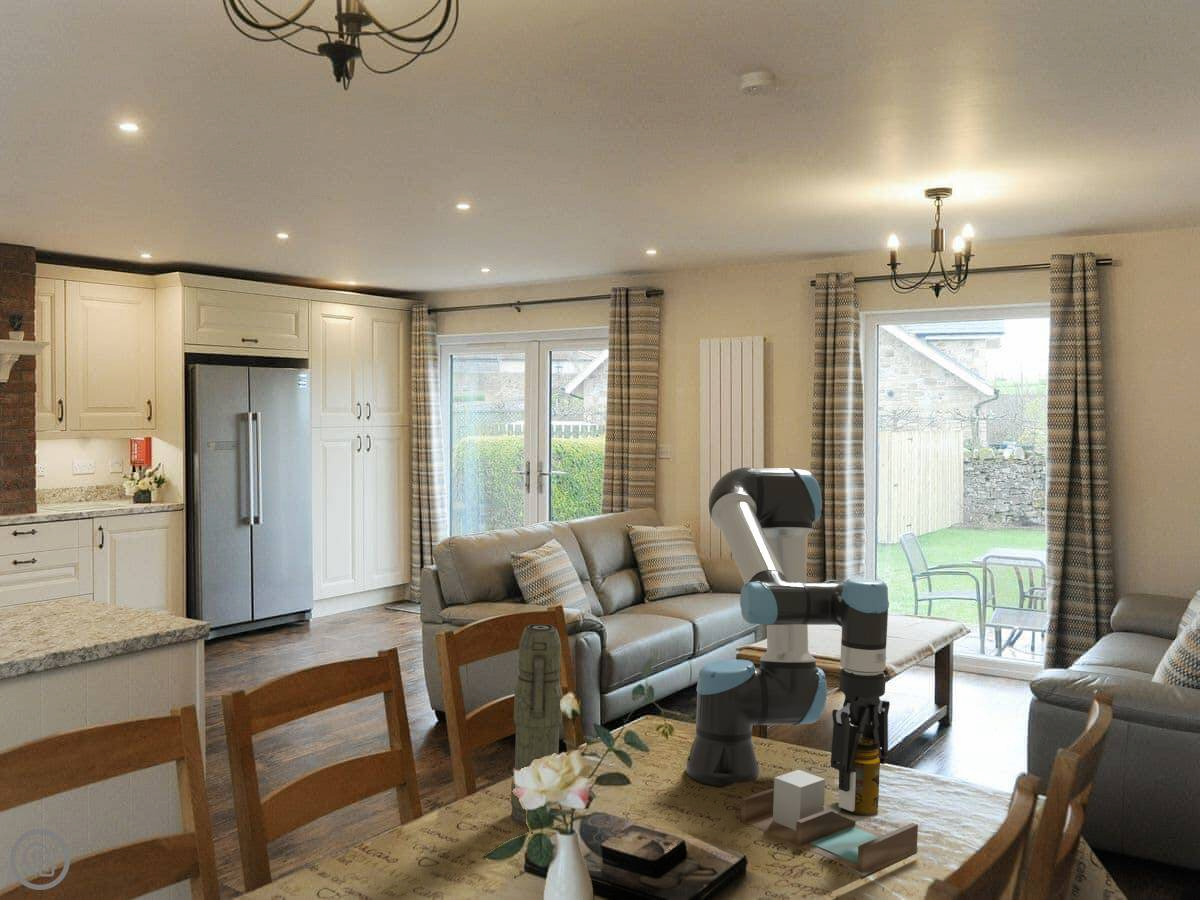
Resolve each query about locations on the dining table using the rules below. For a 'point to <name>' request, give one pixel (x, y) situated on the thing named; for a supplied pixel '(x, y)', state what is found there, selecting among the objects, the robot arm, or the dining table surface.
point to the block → (797, 797)
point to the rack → (833, 835)
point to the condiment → (864, 783)
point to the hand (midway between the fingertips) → (858, 803)
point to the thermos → (536, 701)
